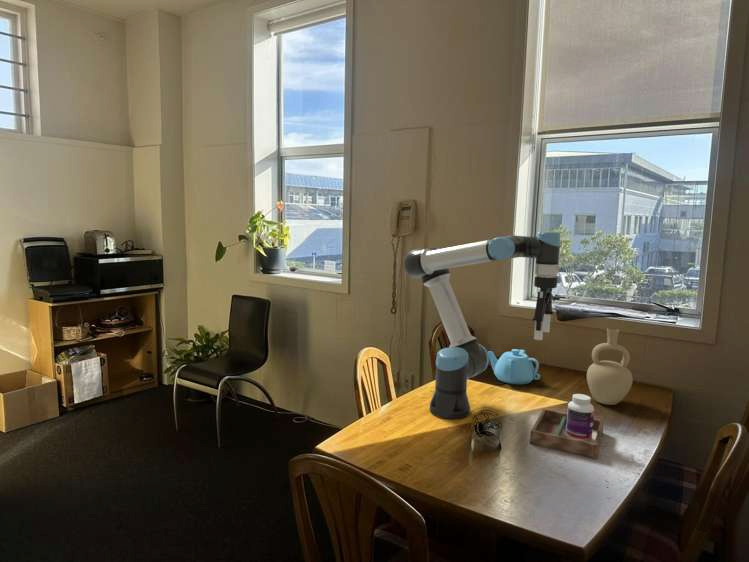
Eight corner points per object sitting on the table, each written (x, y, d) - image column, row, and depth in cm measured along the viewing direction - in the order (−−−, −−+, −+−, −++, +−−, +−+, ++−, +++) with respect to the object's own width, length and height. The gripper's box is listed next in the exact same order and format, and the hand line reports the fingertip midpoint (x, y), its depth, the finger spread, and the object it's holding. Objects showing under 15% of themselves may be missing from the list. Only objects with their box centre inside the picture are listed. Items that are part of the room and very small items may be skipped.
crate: (529, 443, 165) (530, 430, 164) (542, 420, 184) (543, 408, 183) (596, 459, 155) (597, 445, 155) (602, 432, 174) (603, 420, 174)
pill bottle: (593, 445, 163) (597, 402, 161) (567, 442, 165) (571, 399, 163) (588, 434, 171) (592, 393, 169) (563, 432, 172) (566, 391, 171)
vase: (588, 407, 198) (594, 332, 194) (581, 393, 214) (587, 323, 210) (635, 412, 194) (642, 336, 190) (624, 397, 210) (631, 326, 206)
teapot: (523, 372, 241) (525, 343, 239) (544, 385, 222) (546, 355, 220) (485, 373, 237) (487, 345, 235) (503, 387, 219) (505, 356, 217)
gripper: (550, 280, 163) (546, 344, 166) (562, 273, 185) (558, 330, 188) (527, 278, 167) (523, 341, 170) (541, 272, 189) (538, 327, 192)
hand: (541, 335), depth 179 cm, fingers open, 13 cm apart
